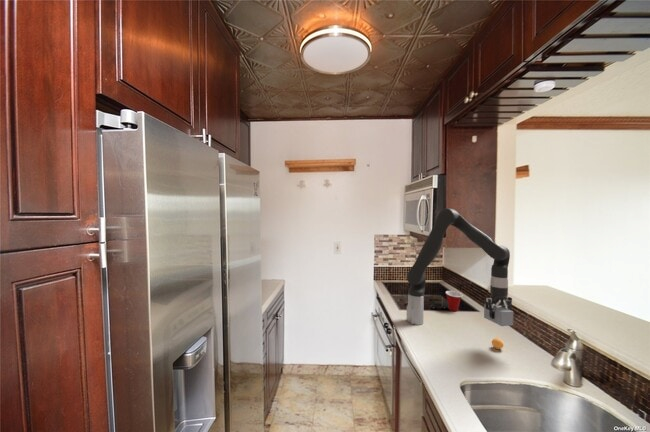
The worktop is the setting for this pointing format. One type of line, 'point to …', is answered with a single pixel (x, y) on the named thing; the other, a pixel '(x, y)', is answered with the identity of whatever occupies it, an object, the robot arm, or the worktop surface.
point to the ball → (497, 343)
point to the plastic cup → (453, 300)
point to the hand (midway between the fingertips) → (498, 317)
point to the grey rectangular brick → (500, 316)
